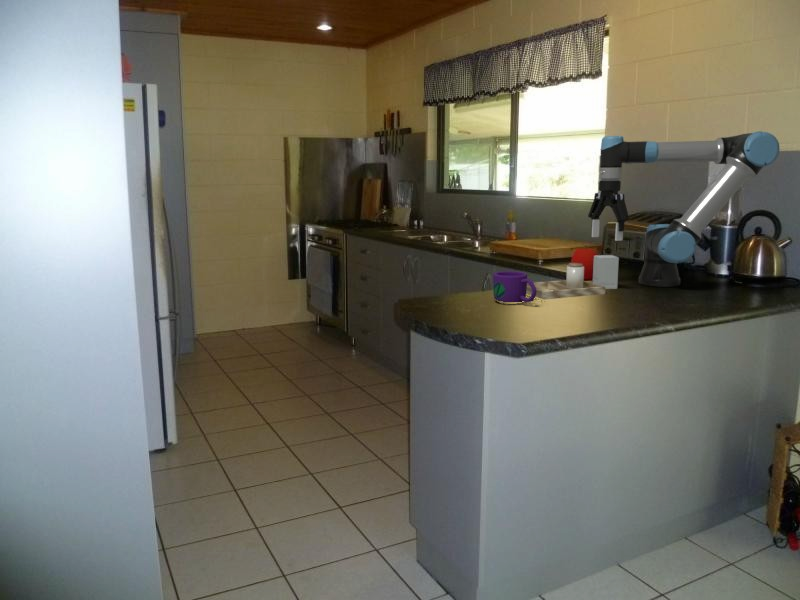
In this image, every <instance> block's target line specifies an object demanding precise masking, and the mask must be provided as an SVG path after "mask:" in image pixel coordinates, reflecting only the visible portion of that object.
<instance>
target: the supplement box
mask: <svg viewBox="0 0 800 600" xmlns="http://www.w3.org/2000/svg"><path fill="white" fill-rule="evenodd" d="M619 261H620V258H619V257H618V256H615V255H613V254H609V255H608V254H606V255H605V254H601V255H600V254H599V255H596V256H594V264H593V280H592V284H596V285H600V286H604V287H605V290H614V289H615V290H617V289H618V281H619V279H618V278H619Z"/></svg>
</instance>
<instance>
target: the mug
mask: <svg viewBox="0 0 800 600" xmlns="http://www.w3.org/2000/svg"><path fill="white" fill-rule="evenodd" d="M492 277H493V279H492V291H493V299H494V300H495V299H496V300H498V301H503V302H522V301H524V302H525V303H530V302H533V301H534V300H535V299H536V297H535V296H536V292H537V291H536V287H535V285H534V283H535V282H533V281H532V280H531V279H530V278H528V274H527V272H523V271H516V270H515V271H514V270H504V271H502V270H501V271H496V272H494V273H493V275H492ZM527 283H528V284H529V285H530V286H531V288H532V295H530V296H529V297H530V298H529V297H526V296H527V294H526V291H527ZM534 298H535V299H534Z"/></svg>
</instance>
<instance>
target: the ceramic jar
mask: <svg viewBox="0 0 800 600" xmlns="http://www.w3.org/2000/svg"><path fill="white" fill-rule="evenodd" d="M582 265H583V264H582V263H571V262H569V263H568V265H566V277H565V278H566V279H565V280H566V287H569V288H573V289H578V288H583V282H585V280H584V266H582Z"/></svg>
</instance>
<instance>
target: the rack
mask: <svg viewBox="0 0 800 600" xmlns="http://www.w3.org/2000/svg"><path fill="white" fill-rule="evenodd" d="M533 283H534V285H535V287H536V291H537V292H536V296H535V298H536V299H539V300H542V301H545V300H555V299H564V298H574V297H575V298H576V297H577V298H578V297H579V298H580V297H588V296H589V297H590V296H600V295H605V294H606V289H605V287H604V286H600V285H596V284H593V282H592V283H591V282H588V281H584V282H583V288H578V289H573V288H569V287H566V279H563V280H562V279H561V280H551V281H550V280H549V281H538V282H533ZM551 290H553V291H551ZM526 295H527V296H531V295H532V288H531V286H530V285H529V284H528V283H527V291H526Z"/></svg>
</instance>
